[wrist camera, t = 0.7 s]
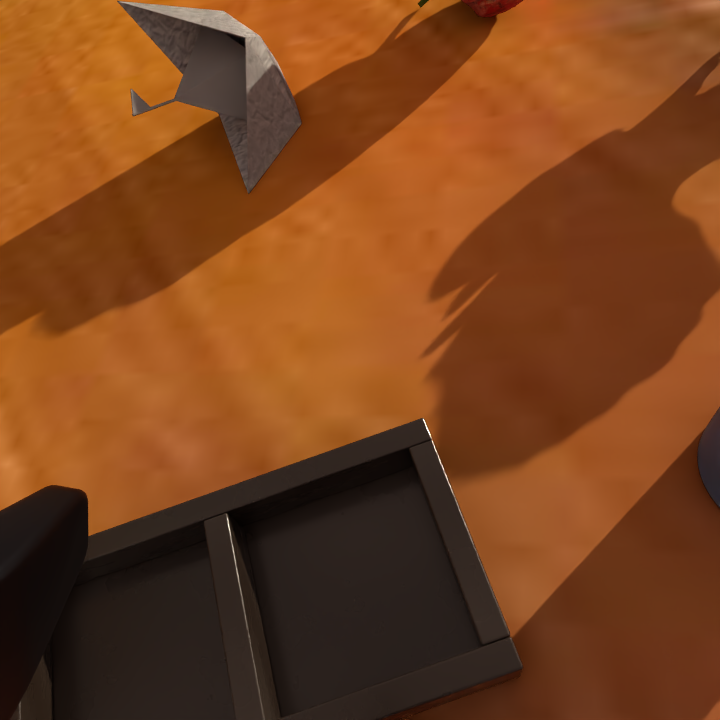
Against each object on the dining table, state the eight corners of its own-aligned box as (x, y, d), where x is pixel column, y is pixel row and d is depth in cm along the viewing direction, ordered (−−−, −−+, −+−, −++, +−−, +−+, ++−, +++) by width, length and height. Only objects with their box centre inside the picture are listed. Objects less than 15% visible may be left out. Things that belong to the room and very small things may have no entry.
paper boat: (360, 115, 33) (214, 180, 29) (318, 178, 39) (191, 241, 35) (228, -75, 33) (62, -38, 29) (205, 16, 39) (64, 59, 35)
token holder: (521, 676, 20) (524, 668, 18) (40, 847, 20) (-12, 859, 18) (429, 443, 24) (423, 416, 22) (37, 582, 24) (-4, 568, 22)
